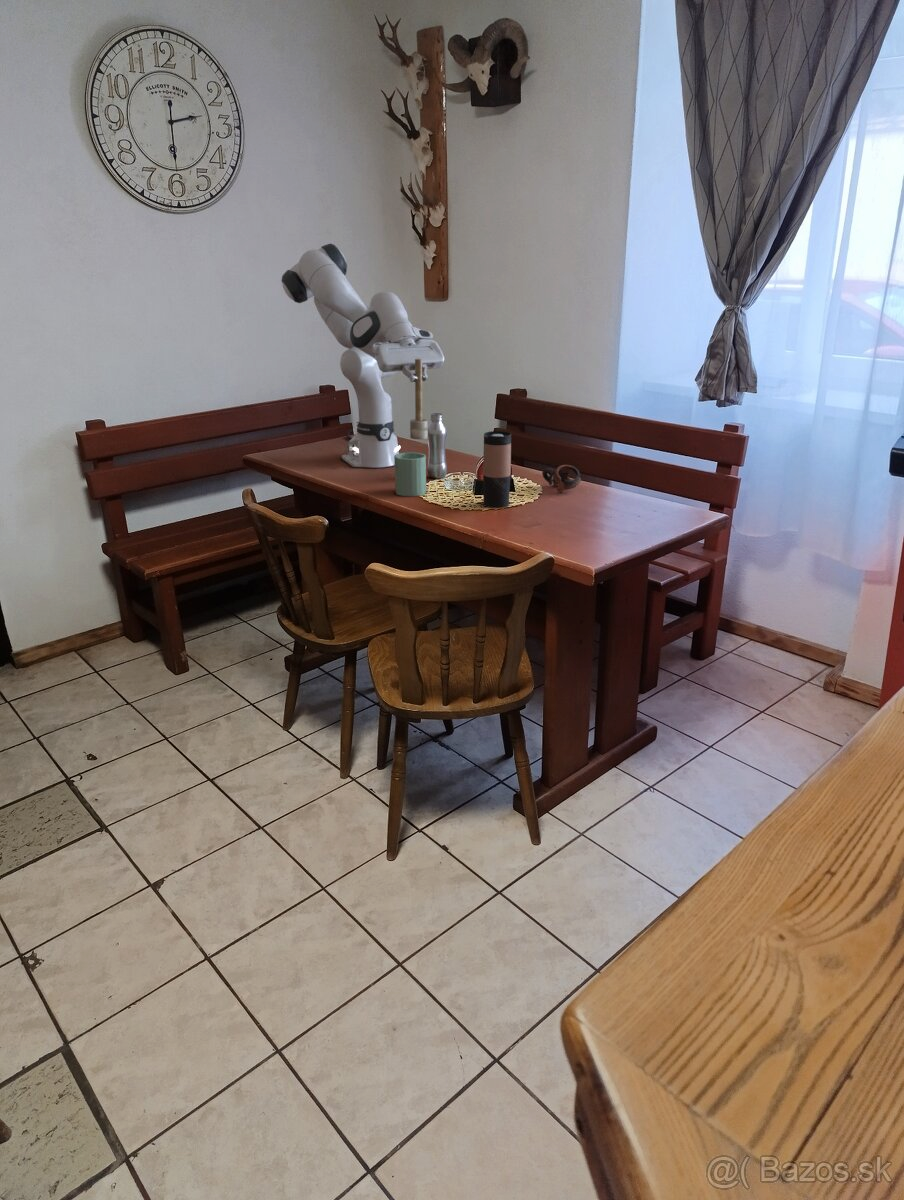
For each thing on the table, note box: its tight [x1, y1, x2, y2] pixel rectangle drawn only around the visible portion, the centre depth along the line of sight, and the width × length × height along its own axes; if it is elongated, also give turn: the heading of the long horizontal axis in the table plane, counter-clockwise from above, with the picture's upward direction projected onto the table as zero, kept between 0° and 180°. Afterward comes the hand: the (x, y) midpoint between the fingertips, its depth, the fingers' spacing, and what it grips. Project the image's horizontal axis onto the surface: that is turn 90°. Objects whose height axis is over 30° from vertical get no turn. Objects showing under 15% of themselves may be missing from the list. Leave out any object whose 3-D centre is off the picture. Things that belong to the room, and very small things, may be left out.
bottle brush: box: [409, 359, 429, 440], centre depth 231 cm, size 5×5×22 cm
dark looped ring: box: [541, 464, 582, 494], centre depth 244 cm, size 12×10×8 cm
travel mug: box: [482, 430, 512, 509], centre depth 226 cm, size 8×8×20 cm
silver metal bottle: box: [426, 412, 448, 479], centre depth 255 cm, size 6×7×20 cm
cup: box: [393, 451, 427, 497], centre depth 240 cm, size 9×9×11 cm
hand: (419, 380), depth 228 cm, fingers closed on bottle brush
